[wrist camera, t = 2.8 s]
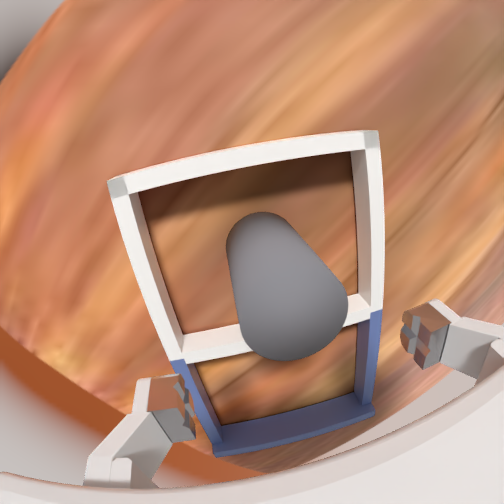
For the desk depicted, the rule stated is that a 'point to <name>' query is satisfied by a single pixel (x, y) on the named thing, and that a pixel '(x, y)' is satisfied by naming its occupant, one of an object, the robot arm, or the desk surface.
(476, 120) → the desk surface
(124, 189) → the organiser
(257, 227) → the smooth grey pebble
